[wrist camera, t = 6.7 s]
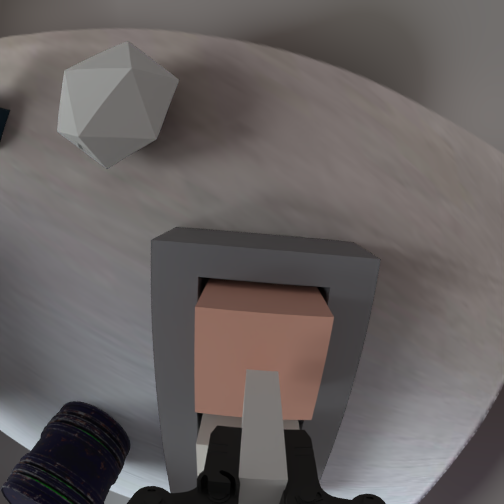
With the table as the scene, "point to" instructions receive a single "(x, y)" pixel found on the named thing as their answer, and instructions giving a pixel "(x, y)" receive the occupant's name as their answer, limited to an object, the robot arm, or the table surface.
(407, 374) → the table surface
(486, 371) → the table surface
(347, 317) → the keypad housing
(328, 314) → the terracotta key
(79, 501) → the storage jar
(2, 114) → the watch
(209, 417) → the white key
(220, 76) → the table surface
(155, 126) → the die
